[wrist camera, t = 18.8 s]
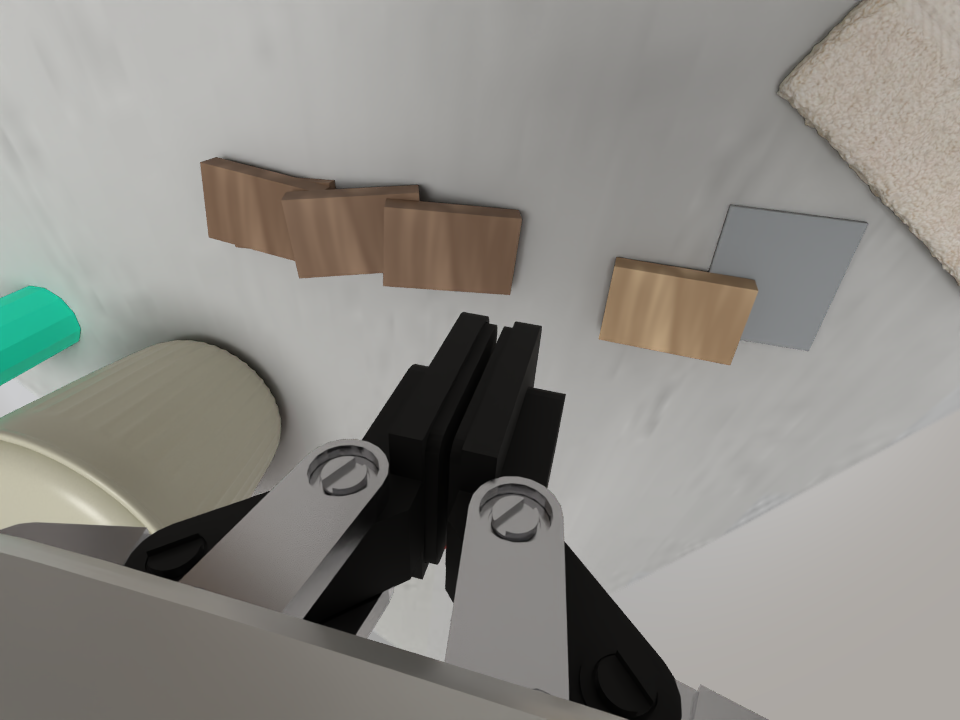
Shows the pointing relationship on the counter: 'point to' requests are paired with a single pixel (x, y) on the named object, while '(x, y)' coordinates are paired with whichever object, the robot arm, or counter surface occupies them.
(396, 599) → the counter surface
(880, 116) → the washcloth
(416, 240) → the domino
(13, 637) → the robot arm
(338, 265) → the domino
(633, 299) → the domino
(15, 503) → the canister
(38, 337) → the candle
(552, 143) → the counter surface
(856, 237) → the pad
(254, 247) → the domino
